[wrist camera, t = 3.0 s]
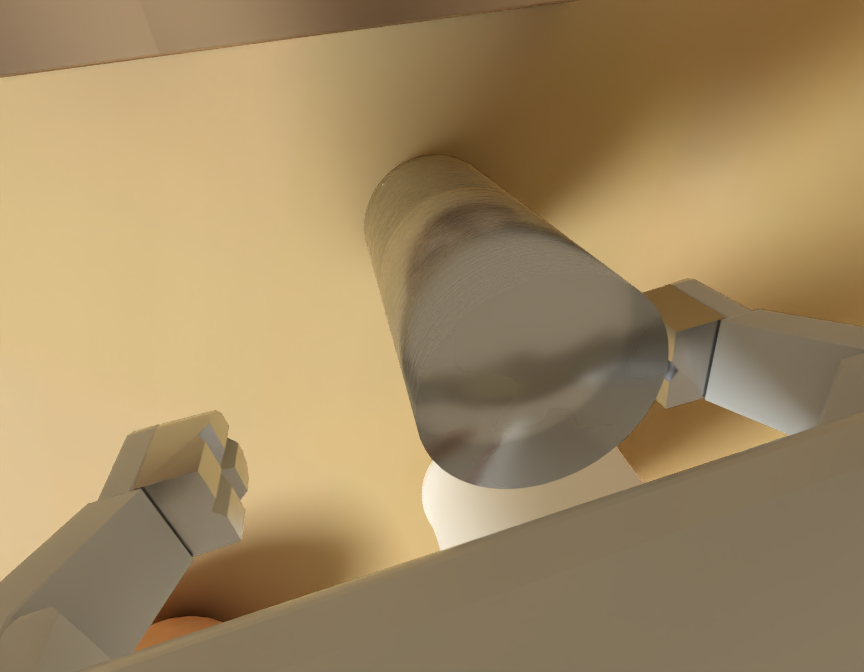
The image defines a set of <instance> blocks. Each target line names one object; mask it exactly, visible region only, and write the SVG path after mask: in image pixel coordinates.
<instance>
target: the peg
mask: <svg viewBox="0 0 864 672" xmlns="http://www.w3.org/2000/svg"><path fill="white" fill-rule="evenodd" d="M364 231H365V239H366V243H367V247H368V250H369V254H370V258H371V261H372V265H373V268H374V272H375V276H376V279H377V283H378V287H379V290H380V294H381V298H382V301H383V305H384V308H385V312H386V316H387V319H388V323H389V327H390V330H391V334H392V338H393V341H394V345H395V348H396V352H397V356H398V359H399V363H400V367H401V370H402V374H403V378H404V381H405V385H406V389H407V392H408V396H409V399H410V403H411V407H412V410H413V414H414V418H415V421H416V425H417V429H418V432H419V436H420V439H421V441H422V443H423V446H424V448H425V450H426V451H427V453H428V454H429V455H430V457H431V458H432V460H433V461H434V462H435V463H436V464H437V465H438V466H439V467H440V468H441V469H443V470H444V471H446V472H447V473H449V474H450V475H451V476H453V477H455V478H457V479H459V480H461V481H464V482H467V483H470V484H473V485H476V486H481V487H486V488H495V489H518V488H526V487H533V486H537V485H542V484H546V483H549V482H552V481H556V480H559V479H561V478H564V477H566V476H569V475H571V474H574V473H576V472H578V471H580V470H582V469H584V468H586V467H587V466H589V465H591V464H592V463H594V462H596V461H597V460H599V459H600V458H602V457H603V456H605V455H606V454H607V453H609V452H610V451H612V450H613V449H614V448H615V447H616V446H617V445H619V444H620V443H621V442H622V441H623V440H624V439H625V438H626V437H627V436H628V435H629V434H630V433H631V432H632V431H633V430H634V429H635V428H636V427H637V425H638V424H639V423H640V422H641V421H642V419H643V418H644V417H645V415H646V414H647V412H648V411H649V409H650V408H651V406H652V404H653V403H654V401H655V399H656V397H657V395H658V393H659V391H660V388H661V386H662V383H663V381H664V377H665V373H666V370H667V364H668V356H669V346H668V336H667V331H666V327H665V325H664V322H663V320H662V317H661V315H660V313H659V312H658V310H657V309H656V307H655V306H654V304H653V303H652V302H651V301H650V300H649V299H648V298H647V297H646V296H645V295H644V294H643V293H642V292H640V291H639V290H638V289H636V288H635V287H634V286H632V285H631V284H630V283H628V282H627V281H626V280H624V279H623V278H622V277H620V276H619V275H617V274H616V273H615V272H613V271H612V270H611V269H609V268H608V267H607V266H605V265H604V264H603V263H601V262H600V261H599V260H597V259H596V258H595V257H593V256H592V255H591V254H589V253H588V252H587V251H585V250H584V249H583V248H581V247H580V246H579V245H577V244H576V243H575V242H573V241H572V240H571V239H569V238H568V237H567V236H565V235H564V234H563V233H561V232H560V231H559V230H557V229H556V228H555V227H553V226H552V225H551V224H549V223H548V222H547V221H545V220H544V219H543V218H541V217H540V216H539V215H537V214H536V213H535V212H533V211H532V210H531V209H529V208H528V207H527V206H525V205H524V204H523V203H521V202H520V201H518V200H517V199H516V198H514V197H513V196H512V195H510V194H509V193H508V192H506V191H505V190H504V189H502V188H501V187H500V186H498V185H497V184H496V183H494V182H493V181H492V180H490V179H489V178H488V177H486V176H485V175H484V174H482V173H481V172H480V171H478V170H477V169H476V168H474V167H473V166H471V165H470V164H468V163H466V162H465V161H463V160H460V159H457V158H454V157H450V156H445V155H428V156H422V157H418V158H414V159H412V160H409V161H407V162H405V163H403V164H401V165H399V166H398V167H396V168H395V169H394V170H392V171H391V172H390V173H389V174H388V175H387V176H386V177H385V178H384V179H383V180H382V181H381V182H380V184H379V185H378V186H377V188H376V189H375V191H374V193H373V194H372V196H371V199H370V201H369V203H368V207H367V210H366V215H365V226H364Z"/></svg>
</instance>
